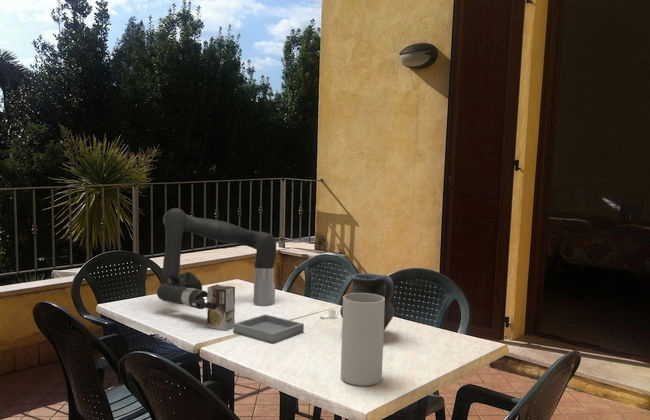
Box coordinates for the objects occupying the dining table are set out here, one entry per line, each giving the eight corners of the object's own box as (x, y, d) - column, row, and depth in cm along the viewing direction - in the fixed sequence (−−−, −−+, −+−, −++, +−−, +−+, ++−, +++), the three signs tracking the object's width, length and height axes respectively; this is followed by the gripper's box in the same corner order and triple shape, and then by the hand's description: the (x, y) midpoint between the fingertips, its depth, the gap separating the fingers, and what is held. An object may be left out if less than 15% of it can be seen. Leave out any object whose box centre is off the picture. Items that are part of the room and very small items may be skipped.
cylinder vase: (334, 382, 158) (337, 299, 157) (348, 368, 170) (350, 291, 168) (375, 389, 154) (378, 304, 152) (386, 374, 166) (389, 295, 164)
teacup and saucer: (318, 320, 226) (318, 310, 226) (325, 315, 234) (325, 306, 233) (337, 322, 223) (337, 313, 223) (343, 318, 231) (344, 308, 230)
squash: (173, 285, 259) (170, 265, 248) (204, 286, 261) (203, 267, 250) (168, 309, 249) (165, 290, 238) (200, 311, 251) (199, 292, 240)
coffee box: (235, 326, 212) (235, 286, 211) (225, 330, 206) (226, 289, 205) (216, 323, 216) (216, 283, 214) (206, 327, 210) (207, 286, 209)
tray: (265, 322, 218) (265, 314, 218) (303, 332, 207) (303, 323, 206) (233, 332, 204) (233, 323, 204) (272, 343, 192) (272, 334, 192)
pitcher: (364, 325, 219) (366, 265, 217) (407, 338, 203) (410, 273, 201) (329, 335, 204) (331, 270, 202) (372, 350, 189) (374, 280, 187)
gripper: (181, 292, 213) (209, 298, 203) (208, 286, 225) (236, 292, 215) (181, 310, 213) (208, 318, 204) (208, 304, 225) (236, 310, 215)
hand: (222, 305), depth 209 cm, fingers closed on coffee box, 7 cm apart
